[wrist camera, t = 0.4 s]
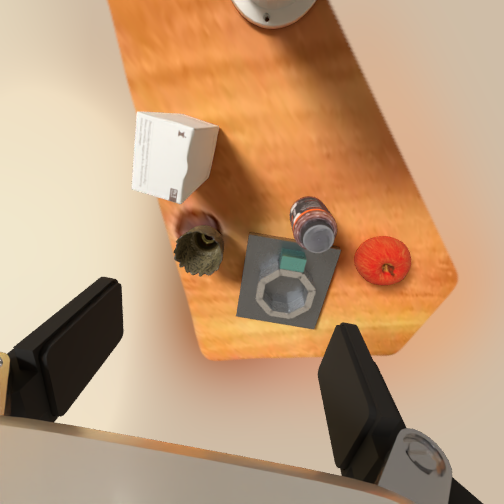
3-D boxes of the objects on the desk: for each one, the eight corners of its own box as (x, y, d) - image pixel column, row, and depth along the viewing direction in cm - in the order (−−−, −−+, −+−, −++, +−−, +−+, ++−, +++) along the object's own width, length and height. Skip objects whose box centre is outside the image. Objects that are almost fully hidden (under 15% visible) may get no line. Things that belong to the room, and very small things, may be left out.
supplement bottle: (282, 208, 42) (285, 233, 32) (314, 188, 40) (328, 207, 30) (300, 236, 44) (309, 267, 34) (331, 217, 42) (351, 245, 32)
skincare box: (183, 113, 37) (133, 103, 24) (222, 127, 37) (195, 124, 24) (174, 170, 41) (126, 189, 27) (210, 182, 41) (180, 206, 28)
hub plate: (249, 231, 44) (247, 241, 40) (339, 247, 44) (345, 257, 40) (236, 312, 52) (234, 326, 48) (313, 325, 52) (316, 340, 48)
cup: (196, 208, 43) (181, 224, 36) (236, 226, 44) (229, 245, 37) (183, 244, 46) (167, 265, 39) (220, 260, 47) (211, 283, 40)
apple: (408, 243, 43) (435, 265, 36) (376, 277, 46) (395, 304, 39) (370, 220, 42) (391, 239, 35) (340, 258, 45) (353, 281, 38)
